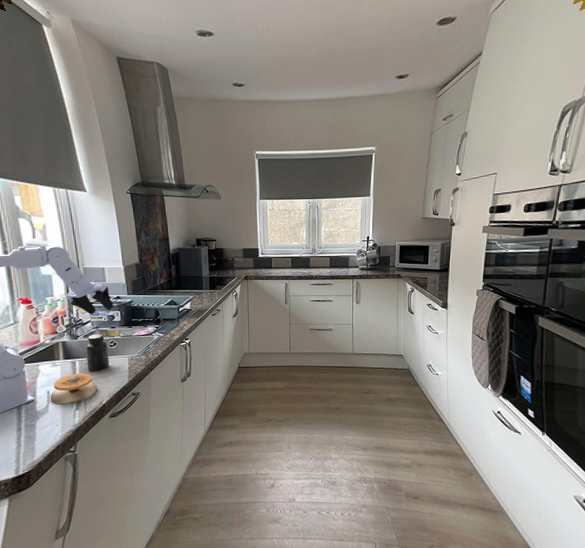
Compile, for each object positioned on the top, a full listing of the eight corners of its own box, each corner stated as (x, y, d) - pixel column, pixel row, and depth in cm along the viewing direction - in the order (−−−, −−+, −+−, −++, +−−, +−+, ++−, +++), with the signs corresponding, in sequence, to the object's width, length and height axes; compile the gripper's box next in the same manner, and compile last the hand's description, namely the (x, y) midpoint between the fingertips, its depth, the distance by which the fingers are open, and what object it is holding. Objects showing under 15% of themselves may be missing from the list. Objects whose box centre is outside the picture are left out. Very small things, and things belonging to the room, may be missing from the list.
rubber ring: (65, 393, 99) (65, 390, 99) (48, 385, 104) (47, 382, 104) (98, 380, 107) (98, 378, 107) (80, 373, 112) (80, 371, 112)
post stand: (64, 408, 98) (63, 391, 97) (42, 397, 104) (41, 381, 103) (105, 390, 108) (104, 375, 108) (82, 381, 114) (81, 367, 113)
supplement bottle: (104, 362, 130) (102, 331, 128) (112, 367, 125) (110, 335, 124) (84, 368, 124) (81, 336, 123) (92, 373, 120) (89, 340, 118)
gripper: (99, 266, 110) (125, 298, 117) (66, 276, 114) (92, 306, 121) (86, 279, 104) (114, 312, 111) (51, 289, 108) (80, 320, 116)
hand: (102, 310), depth 116 cm, fingers open, 7 cm apart
